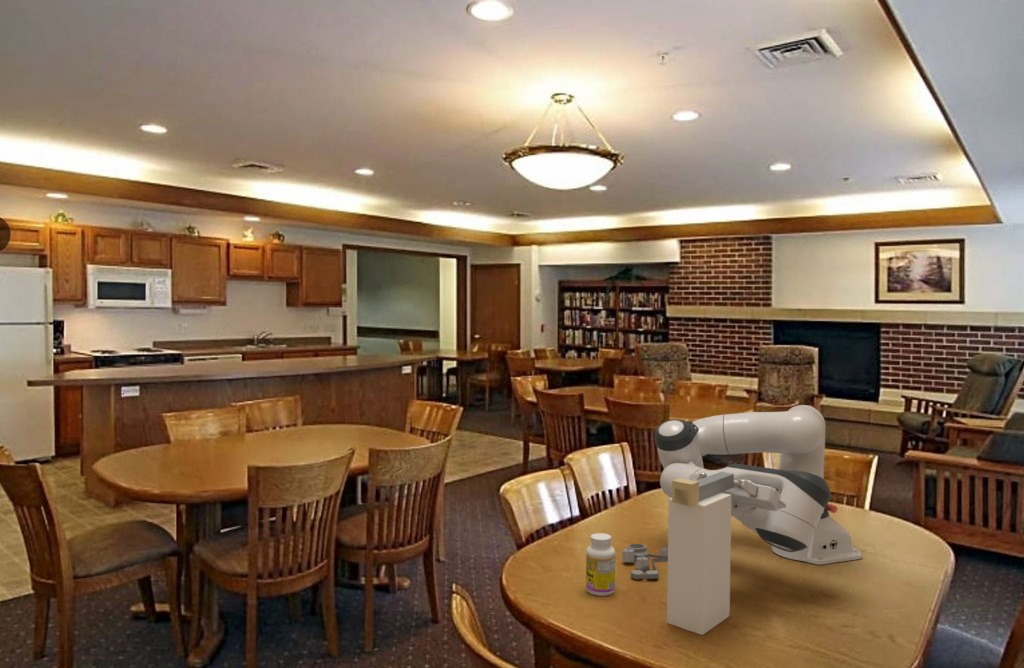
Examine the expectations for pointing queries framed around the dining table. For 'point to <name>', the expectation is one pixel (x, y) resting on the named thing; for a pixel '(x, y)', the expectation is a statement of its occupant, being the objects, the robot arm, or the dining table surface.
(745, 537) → the dining table surface
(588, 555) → the supplement bottle
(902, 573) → the dining table surface
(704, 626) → the pillar
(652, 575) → the pulley system
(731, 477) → the bar
